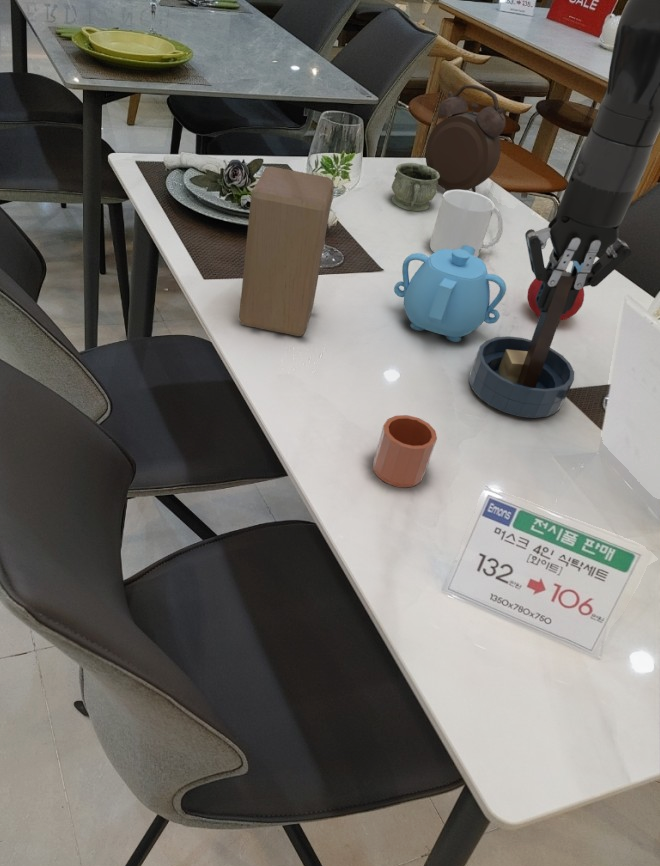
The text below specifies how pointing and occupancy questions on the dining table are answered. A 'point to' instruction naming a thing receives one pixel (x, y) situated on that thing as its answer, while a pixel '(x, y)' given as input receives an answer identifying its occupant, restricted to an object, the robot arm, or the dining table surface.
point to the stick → (545, 333)
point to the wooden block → (284, 249)
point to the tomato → (532, 304)
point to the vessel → (414, 186)
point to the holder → (404, 450)
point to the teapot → (449, 292)
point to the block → (512, 364)
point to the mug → (464, 221)
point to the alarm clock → (465, 142)
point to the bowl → (515, 396)
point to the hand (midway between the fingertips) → (550, 309)
